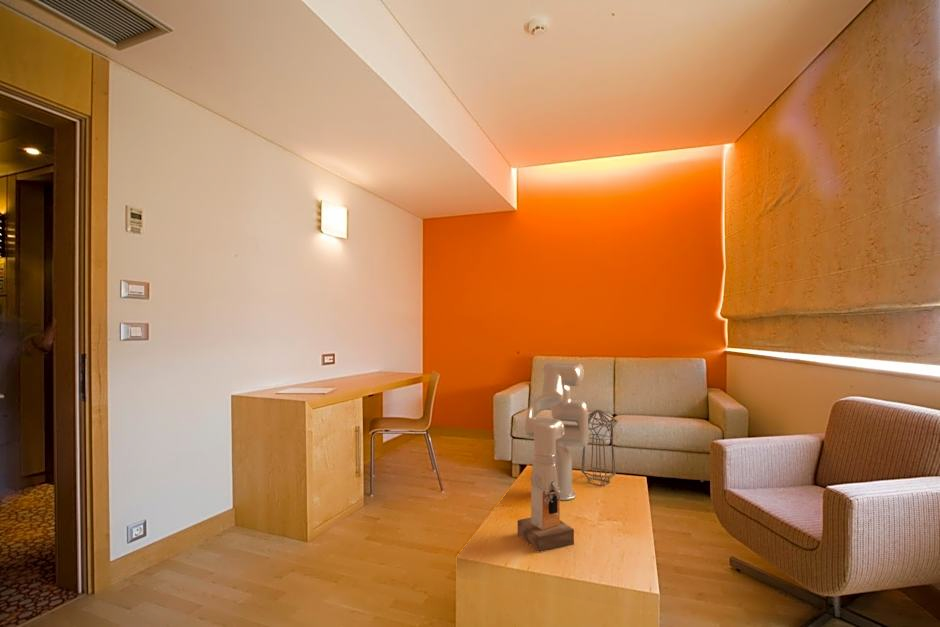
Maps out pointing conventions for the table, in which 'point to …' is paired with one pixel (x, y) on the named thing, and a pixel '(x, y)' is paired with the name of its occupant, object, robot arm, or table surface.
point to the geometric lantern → (599, 446)
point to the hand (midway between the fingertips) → (545, 507)
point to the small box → (543, 510)
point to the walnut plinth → (546, 535)
